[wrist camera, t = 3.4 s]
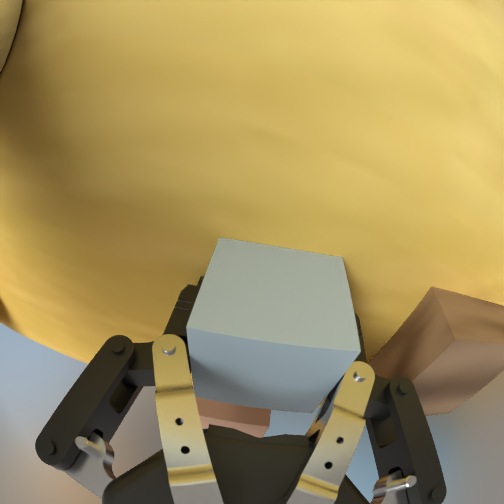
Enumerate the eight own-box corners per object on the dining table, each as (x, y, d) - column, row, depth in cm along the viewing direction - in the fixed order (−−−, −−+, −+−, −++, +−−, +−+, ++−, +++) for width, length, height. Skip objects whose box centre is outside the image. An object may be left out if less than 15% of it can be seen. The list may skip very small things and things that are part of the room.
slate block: (219, 237, 12) (186, 326, 8) (342, 257, 12) (360, 351, 8) (216, 318, 15) (195, 396, 11) (311, 332, 15) (312, 412, 11)
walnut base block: (429, 282, 13) (455, 340, 9) (506, 304, 13) (528, 345, 10) (357, 370, 18) (361, 418, 15) (439, 374, 18) (448, 413, 15)
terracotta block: (206, 344, 17) (188, 413, 13) (275, 355, 17) (269, 426, 13) (207, 375, 20) (194, 432, 16) (265, 385, 20) (258, 443, 16)
